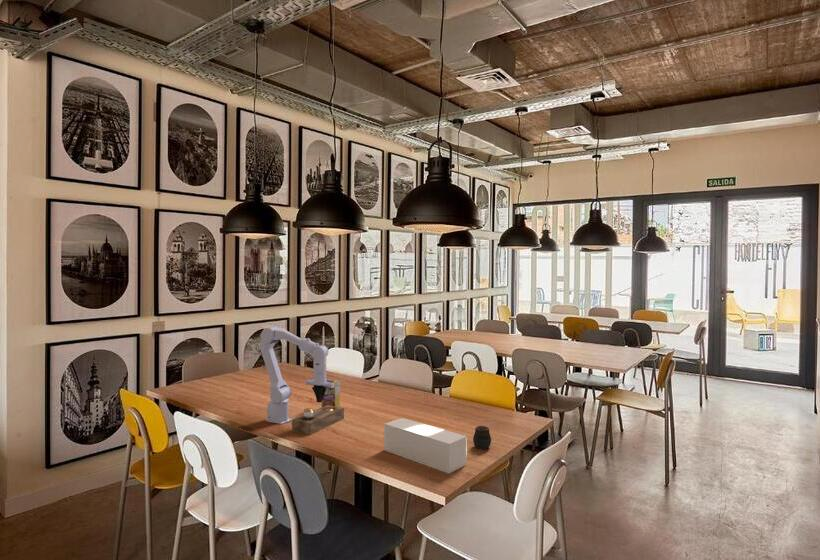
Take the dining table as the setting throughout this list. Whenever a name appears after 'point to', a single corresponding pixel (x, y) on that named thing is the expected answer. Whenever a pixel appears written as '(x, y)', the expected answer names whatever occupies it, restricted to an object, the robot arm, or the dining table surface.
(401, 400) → the dining table surface
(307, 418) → the peg
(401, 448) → the white box
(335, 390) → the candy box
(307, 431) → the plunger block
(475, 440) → the mate gourd
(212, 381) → the dining table surface
